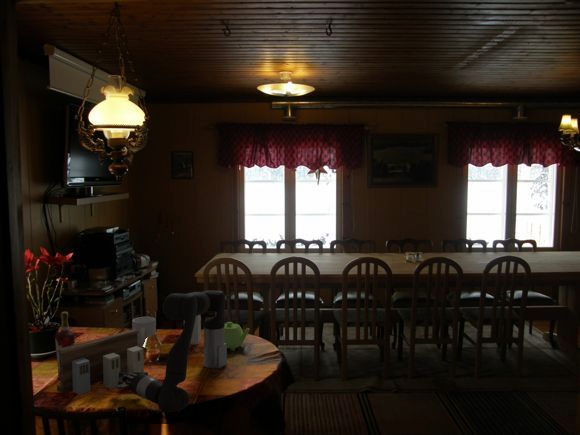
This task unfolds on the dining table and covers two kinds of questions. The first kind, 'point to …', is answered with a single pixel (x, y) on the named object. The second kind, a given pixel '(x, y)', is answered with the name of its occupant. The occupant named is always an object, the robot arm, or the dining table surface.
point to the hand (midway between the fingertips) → (120, 374)
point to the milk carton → (196, 331)
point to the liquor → (64, 338)
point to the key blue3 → (81, 375)
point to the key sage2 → (111, 370)
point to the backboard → (94, 357)
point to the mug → (144, 328)
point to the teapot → (234, 335)
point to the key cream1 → (135, 360)
